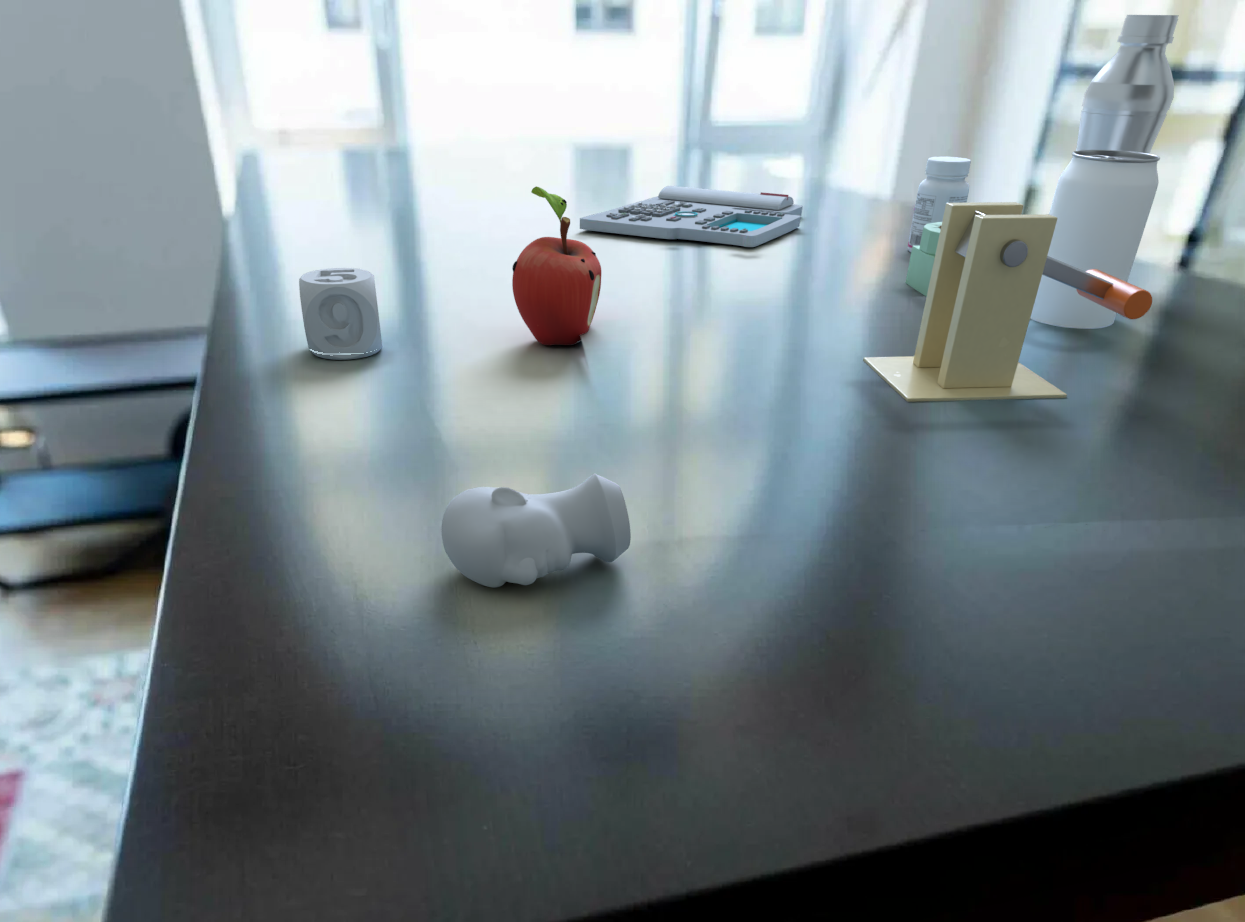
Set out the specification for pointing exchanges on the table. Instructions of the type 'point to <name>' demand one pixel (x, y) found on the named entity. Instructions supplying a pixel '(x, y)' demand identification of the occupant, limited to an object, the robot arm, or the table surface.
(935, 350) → the switch bracket
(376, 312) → the die
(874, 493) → the table surface
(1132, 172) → the can
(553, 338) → the apple
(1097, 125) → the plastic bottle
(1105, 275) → the switch lever
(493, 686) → the table surface
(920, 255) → the button block
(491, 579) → the white mannequin head
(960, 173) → the pill bottle
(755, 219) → the office telephone
